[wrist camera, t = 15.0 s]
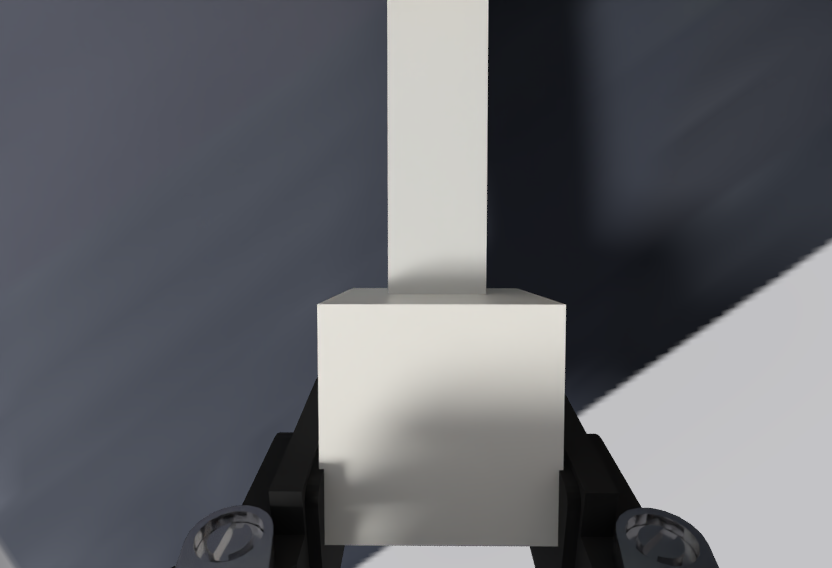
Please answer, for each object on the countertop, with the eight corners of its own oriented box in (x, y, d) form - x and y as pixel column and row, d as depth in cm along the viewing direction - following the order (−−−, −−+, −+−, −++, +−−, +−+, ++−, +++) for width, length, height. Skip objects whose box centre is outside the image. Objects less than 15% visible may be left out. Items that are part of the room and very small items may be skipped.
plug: (349, -140, 12) (306, -373, 7) (521, -141, 12) (581, -378, 7) (353, 448, 13) (317, 551, 8) (514, 449, 13) (565, 553, 8)
